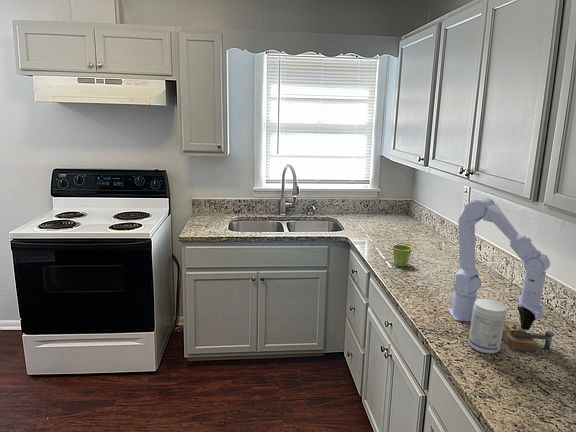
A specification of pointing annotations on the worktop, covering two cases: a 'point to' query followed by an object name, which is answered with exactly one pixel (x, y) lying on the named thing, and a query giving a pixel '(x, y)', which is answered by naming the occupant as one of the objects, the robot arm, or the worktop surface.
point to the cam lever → (537, 337)
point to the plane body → (519, 341)
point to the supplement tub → (487, 325)
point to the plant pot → (401, 254)
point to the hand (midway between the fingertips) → (524, 329)
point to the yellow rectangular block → (512, 328)
